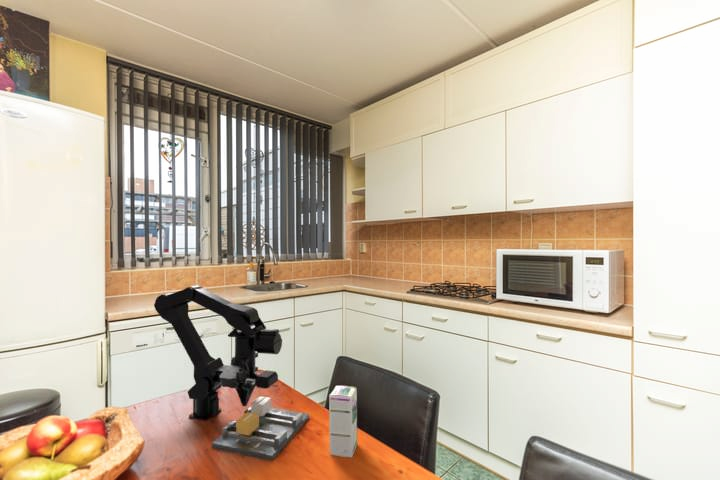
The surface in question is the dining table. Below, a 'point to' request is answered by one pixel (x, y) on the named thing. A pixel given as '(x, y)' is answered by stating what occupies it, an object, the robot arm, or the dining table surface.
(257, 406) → the fader ivory
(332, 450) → the syrup box
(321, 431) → the dining table surface
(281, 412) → the console
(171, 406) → the dining table surface
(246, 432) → the fader amber
